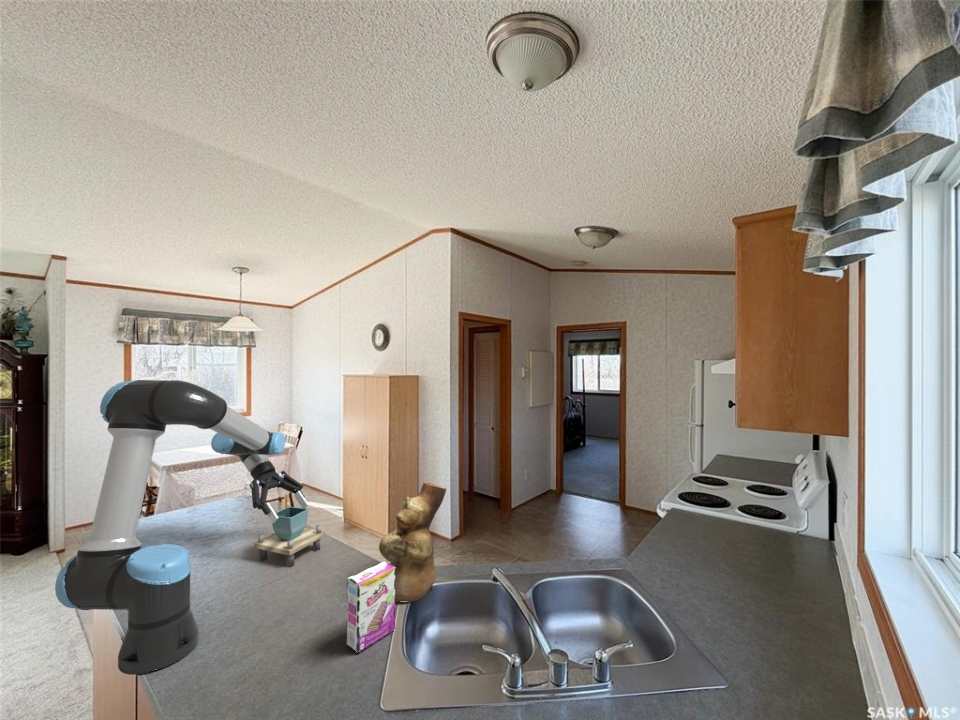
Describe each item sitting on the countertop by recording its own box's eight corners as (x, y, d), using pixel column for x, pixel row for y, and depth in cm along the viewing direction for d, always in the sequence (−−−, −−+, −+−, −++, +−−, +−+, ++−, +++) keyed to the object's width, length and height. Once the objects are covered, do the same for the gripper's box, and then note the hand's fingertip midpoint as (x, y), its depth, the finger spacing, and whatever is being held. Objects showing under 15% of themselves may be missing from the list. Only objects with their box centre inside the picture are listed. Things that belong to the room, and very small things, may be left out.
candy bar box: (358, 655, 96) (357, 584, 96) (346, 646, 99) (345, 577, 99) (396, 631, 105) (396, 566, 105) (384, 623, 108) (383, 559, 108)
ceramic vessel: (371, 587, 125) (370, 487, 125) (432, 563, 139) (431, 474, 139) (396, 611, 113) (396, 501, 113) (460, 583, 127) (460, 484, 127)
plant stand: (325, 548, 150) (324, 524, 150) (290, 569, 136) (290, 543, 136) (291, 541, 156) (290, 518, 156) (254, 560, 141) (253, 535, 141)
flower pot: (270, 541, 143) (269, 515, 143) (289, 530, 151) (288, 506, 151) (290, 544, 140) (290, 517, 140) (309, 533, 149) (308, 508, 149)
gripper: (282, 465, 164) (312, 508, 159) (222, 482, 141) (255, 533, 135) (292, 452, 162) (323, 496, 157) (233, 468, 139) (267, 519, 133)
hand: (291, 513), depth 146 cm, fingers open, 13 cm apart
